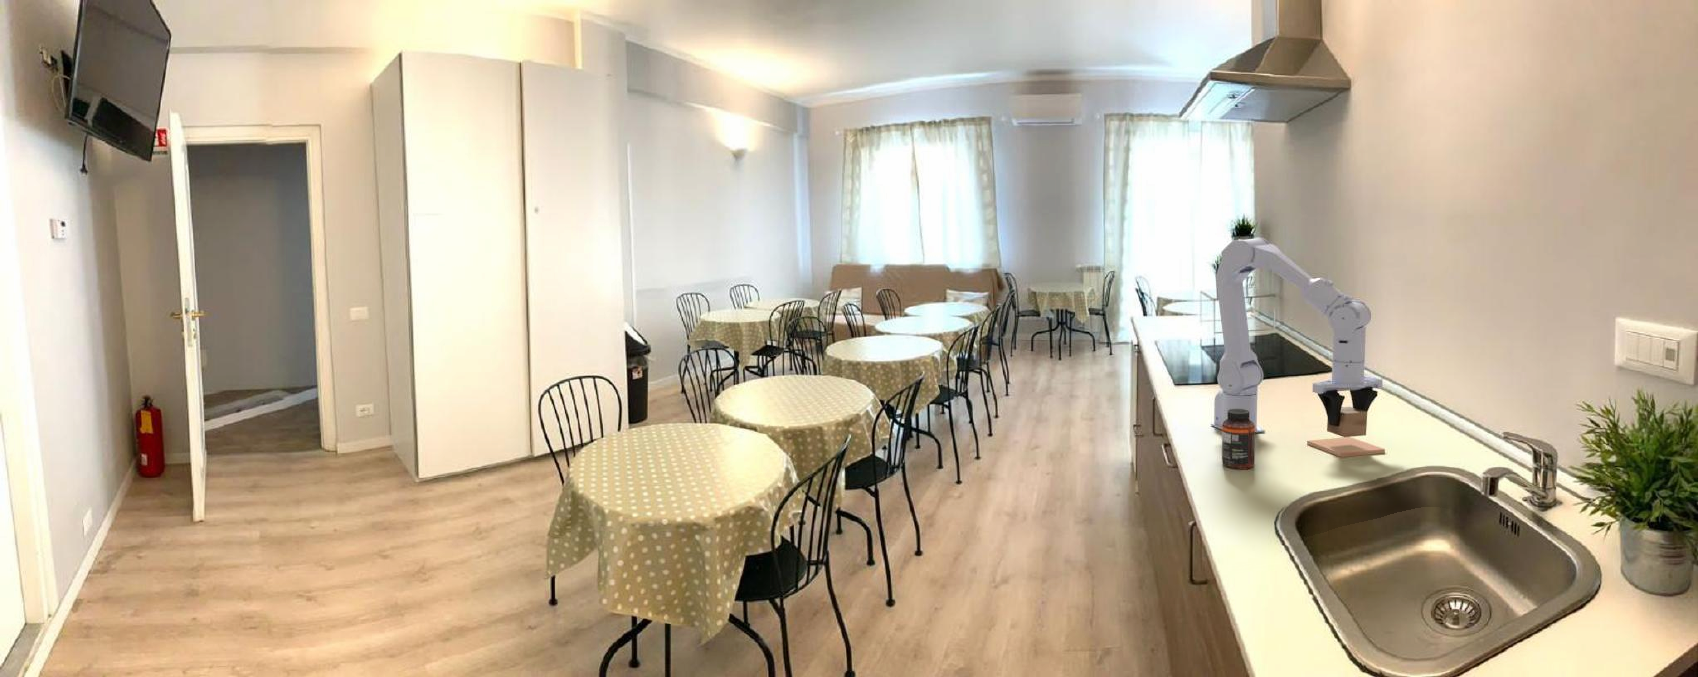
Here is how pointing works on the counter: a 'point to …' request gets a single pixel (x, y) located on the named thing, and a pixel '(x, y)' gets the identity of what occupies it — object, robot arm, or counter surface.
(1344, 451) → the terracotta tile
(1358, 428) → the walnut cube
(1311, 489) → the counter surface
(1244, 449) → the supplement bottle
